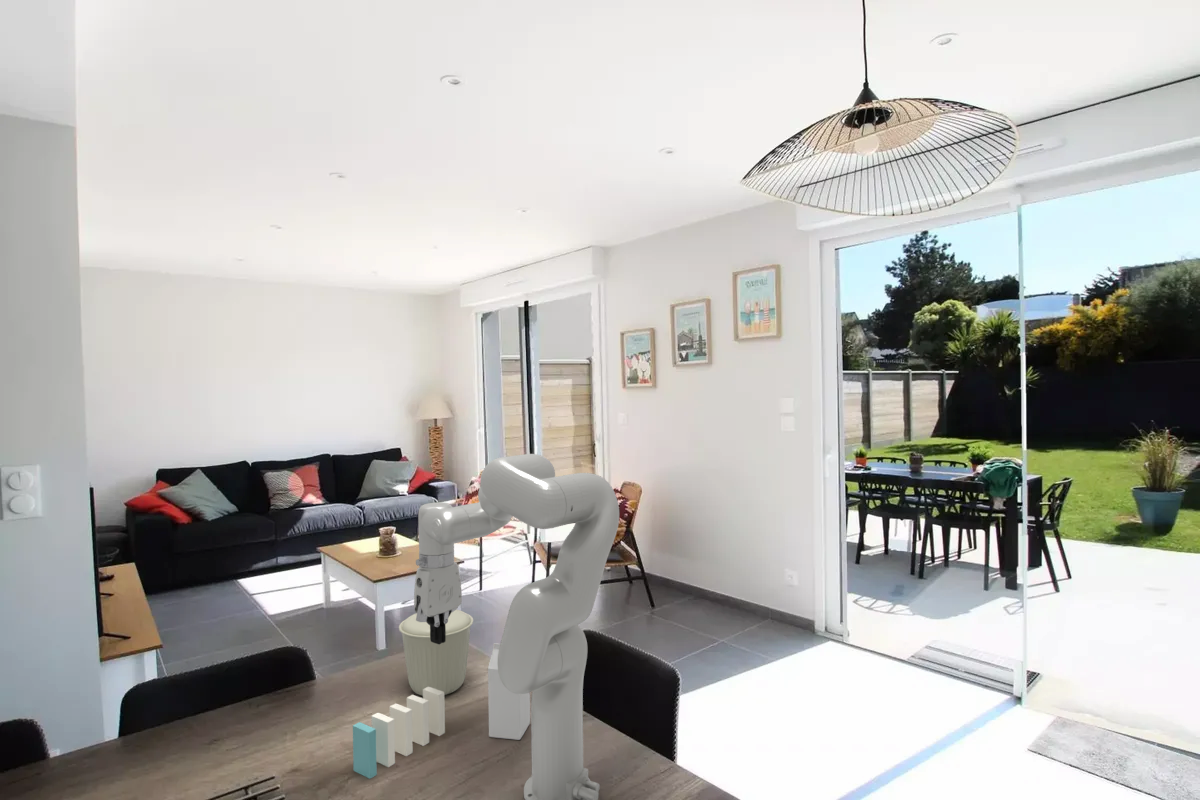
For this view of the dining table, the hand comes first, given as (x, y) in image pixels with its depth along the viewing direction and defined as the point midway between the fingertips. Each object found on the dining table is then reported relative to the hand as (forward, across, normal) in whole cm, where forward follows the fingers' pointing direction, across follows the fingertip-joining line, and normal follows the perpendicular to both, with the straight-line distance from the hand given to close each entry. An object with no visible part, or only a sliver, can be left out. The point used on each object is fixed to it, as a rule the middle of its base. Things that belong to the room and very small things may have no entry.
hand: (438, 641), depth 143 cm
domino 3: (+19, -11, -1) cm, 22 cm away
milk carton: (+19, +8, -14) cm, 25 cm away
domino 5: (+19, -2, 0) cm, 19 cm away
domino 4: (+19, -6, 0) cm, 20 cm away
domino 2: (+19, -15, -1) cm, 24 cm away
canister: (+19, +12, +16) cm, 28 cm away
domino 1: (+19, -20, -1) cm, 27 cm away
